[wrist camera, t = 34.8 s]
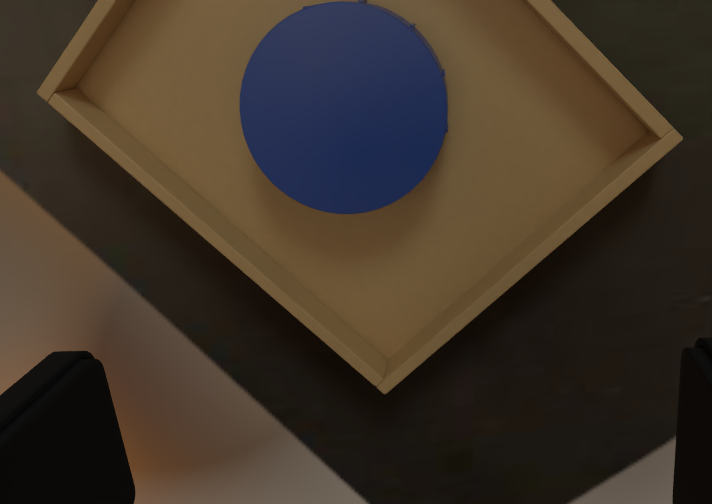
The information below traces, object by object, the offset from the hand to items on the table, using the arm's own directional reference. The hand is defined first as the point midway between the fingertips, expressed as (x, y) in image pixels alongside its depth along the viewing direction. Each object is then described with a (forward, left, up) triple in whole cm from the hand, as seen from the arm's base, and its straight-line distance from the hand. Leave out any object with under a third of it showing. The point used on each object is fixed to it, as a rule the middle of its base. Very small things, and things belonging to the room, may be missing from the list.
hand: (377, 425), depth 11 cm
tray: (+3, +2, -15) cm, 16 cm away
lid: (+3, +2, -13) cm, 14 cm away
